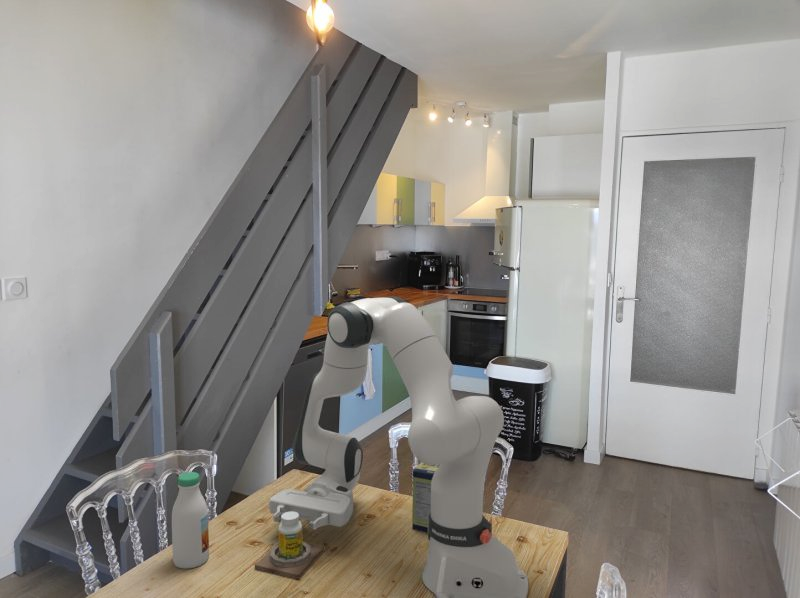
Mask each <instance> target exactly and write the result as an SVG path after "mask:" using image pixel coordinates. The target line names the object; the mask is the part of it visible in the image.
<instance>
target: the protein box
mask: <svg viewBox="0 0 800 598" xmlns="http://www.w3.org/2000/svg"><path fill="white" fill-rule="evenodd" d="M439 465H440V464H438V465H427V464H424V463H422V462H421V461H420V463H419V464H418V465H417V466H416V467H415V468H414V469H413V470H412V507H411V508H412V511H411V512H412V513H411V514H412V518H411V519H412V520H411V523H412V526H411V528H412V530H416V531H419V532H425V533H428V518H429V514H430V513H431V481H432V478H433V475H434V473H435V471H436V470H437V468H438V467H439Z"/></svg>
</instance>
